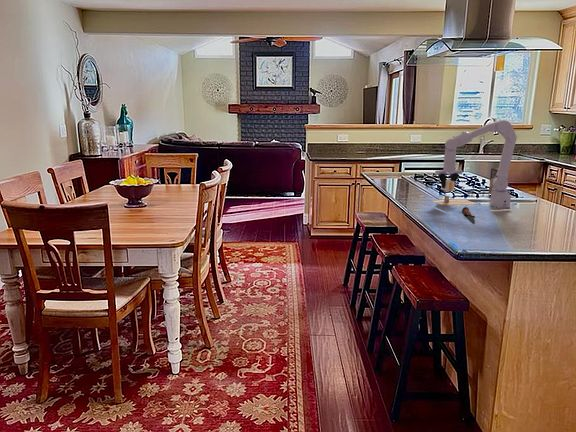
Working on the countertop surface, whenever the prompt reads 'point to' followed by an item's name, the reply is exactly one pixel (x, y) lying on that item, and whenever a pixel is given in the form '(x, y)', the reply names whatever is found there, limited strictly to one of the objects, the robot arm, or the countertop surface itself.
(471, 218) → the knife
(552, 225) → the countertop surface
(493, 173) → the coffee box
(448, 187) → the slotted knob
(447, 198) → the shaft board
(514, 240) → the countertop surface
